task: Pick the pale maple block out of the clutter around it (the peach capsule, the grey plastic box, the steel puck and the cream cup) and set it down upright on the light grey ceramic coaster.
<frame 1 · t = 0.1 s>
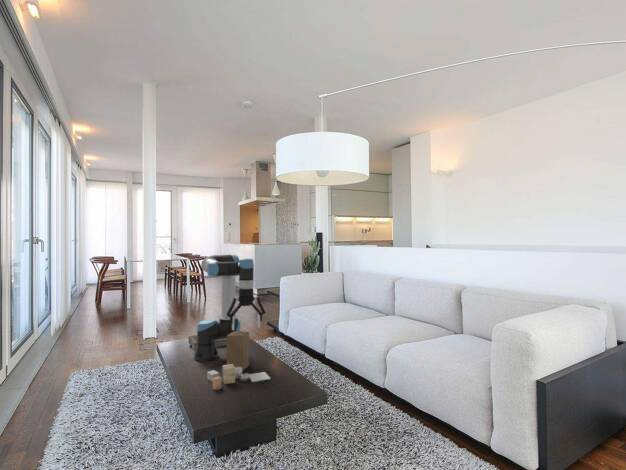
hand: (246, 328, 190), 28 cm above the table, fingers open, 13 cm apart
maple block: (228, 381, 190), on the table
wooden block: (238, 368, 210), on the table
coaster: (258, 377, 196), on the table
book: (213, 344, 261), on the table
peach capsule: (217, 388, 182), on the table
grey box: (213, 379, 193), on the table
cream cup: (238, 377, 196), on the table
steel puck: (244, 380, 192), on the table
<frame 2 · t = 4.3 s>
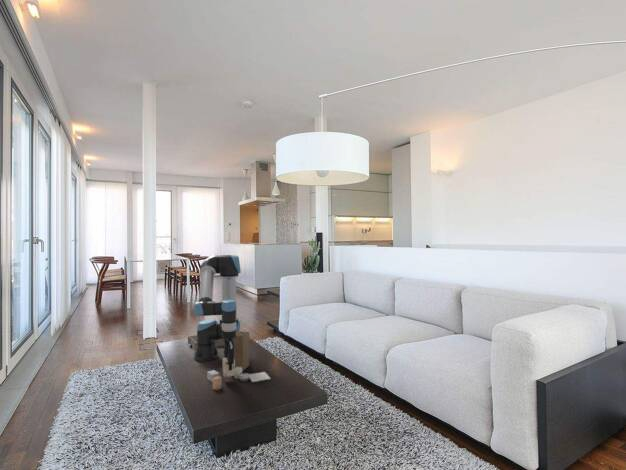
hand: (228, 373, 191), 4 cm above the table, fingers closed on maple block, 5 cm apart
maple block: (228, 374, 191), point 4 cm above the table, touching gripper
everything else where it was.
when the fingers open (1 cm above the table, at t = 8.6 s): maple block stays where it is, resting on coaster.
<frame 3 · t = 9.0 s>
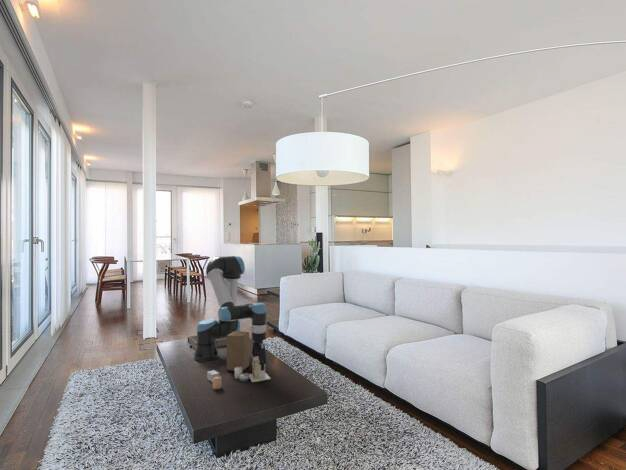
hand: (258, 372, 196), 3 cm above the table, fingers open, 11 cm apart
maple block: (258, 376, 196), point 1 cm above the table, touching coaster
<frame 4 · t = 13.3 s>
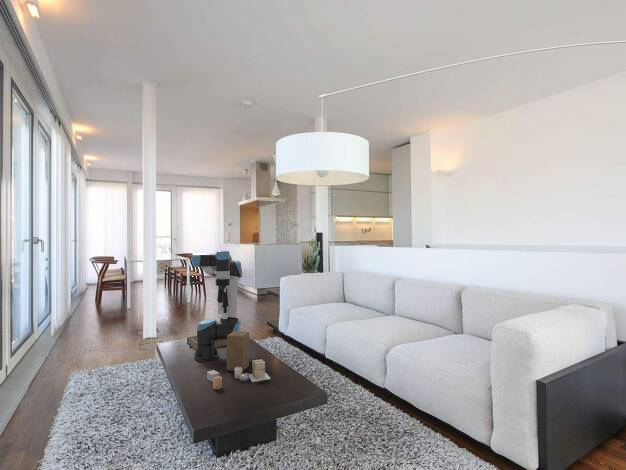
hand: (222, 316, 202), 32 cm above the table, fingers open, 13 cm apart
at the end: maple block inside the target area on the coaster (0.0 cm from its centre), point 0.6 cm above the coaster's base; maple block tilted 0°; the gripper is holding nothing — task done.
